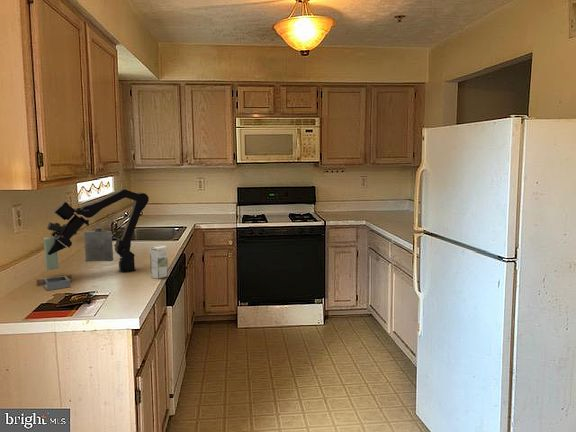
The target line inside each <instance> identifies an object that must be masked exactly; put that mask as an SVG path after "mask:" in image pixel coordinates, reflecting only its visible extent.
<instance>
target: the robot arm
mask: <svg viewBox="0 0 576 432" xmlns="http://www.w3.org/2000/svg"><path fill="white" fill-rule="evenodd" d="M124 198H126V199H129V200H131V201H132V200H133V201H132V210H131V212H130V215H129V217H128V220H127V223H126V226H125V229H124V231H123V234H122V235H121V237H120V238H116V241H115V244H114V245H113V247H114V251H115V253H116V254H118V256H120V257H119V261H118V271H120V272H122V273H127V272H133V271H135V272H136V270H137V269H136V267H135V264H136V263H135V254H134V253H133V252H132V251H131V245H132V244H131V243H132V237H133V235H134V233H135V229H136V226H137V224H138V221H139V219H140V216H141V214H142V212H143V210H144V209H145V208H146V206H147V204H148V203H149V200H150V198H149V196H148V195H147V193H144V192H134V191H130V190H128V189H126V188H122V189H120V190H118V191H115V192H114V193H112V194H110V195H108V196H106V197H104V198H102V199H99V200H97V201H93V202H89V203H85V204H83V205H81V207H77V208H73V207H72V206H71V205H70V204H69V203H68V202H67V201H63V203H62V204H60V205H59V206H58V207H57V208H56V209H55V210H54V212H53V213H54V214H55V215H56V216H58V217H59V218H60V219H62V220H63V221H65V220H67V222H66V223H64V224H62V225H61V223H59V222H50V221H49V222H48V225H47V227H46V229H47V230H48V231H52V232H51V233H50V235H51V236H50V237H55V238H56V239H57V240H56V239H54V240H55V243H54V245H53V246H52V248H51V249H50V251H49V252H48V254H49V255H51V254H53V253H55V252H57V253H58V252H60V251H61V250H64V249H67V247H68V249H70V248H71V247H72V246H73V242H72V241H71V239H72V238H73V236H75V235H77V234H78V233H77V232H78V231H79V230H80V229H81V228H82V227H83V226H84V225H86V226H88V227H89V226H90V223H89V222H90V218H92V217H93V216H95V215H96V214H98V213H99V212H100V211H102V210H103V209H105V208H106V207H109V206H110V205H112V204H115V203H117V202H119V201H121V200H123V199H124ZM85 218H86V219H85Z"/></svg>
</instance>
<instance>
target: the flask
mask: <svg viewBox="0 0 576 432" xmlns="http://www.w3.org/2000/svg"><path fill="white" fill-rule="evenodd" d="M94 230H95V231H94ZM94 230H91V231H90V230H86V231H84V232H83V235H84V237H83V238H84V252H85V253H84V255H85V261H86V262H98V261H99V262H112V260H113V261H114V254H113V253H114V251H113V250H114V249H113V247H114V246H113V235H112V234H113V231H112V230H102V226H97V227H94Z"/></svg>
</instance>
